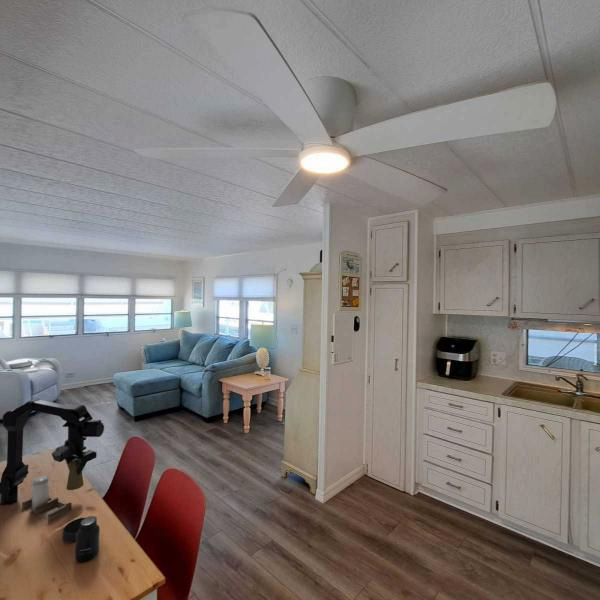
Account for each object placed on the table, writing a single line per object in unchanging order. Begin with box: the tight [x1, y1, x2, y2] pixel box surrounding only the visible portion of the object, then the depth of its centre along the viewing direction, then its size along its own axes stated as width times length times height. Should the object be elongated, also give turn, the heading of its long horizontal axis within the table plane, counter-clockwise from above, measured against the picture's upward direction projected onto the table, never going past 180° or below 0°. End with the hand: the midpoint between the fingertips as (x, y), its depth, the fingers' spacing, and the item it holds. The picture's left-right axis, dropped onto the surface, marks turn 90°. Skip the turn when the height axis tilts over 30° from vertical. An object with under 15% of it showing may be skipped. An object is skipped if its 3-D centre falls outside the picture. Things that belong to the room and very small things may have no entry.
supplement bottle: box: [74, 515, 101, 564], centre depth 111 cm, size 7×7×12 cm
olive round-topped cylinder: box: [65, 459, 84, 491], centre depth 140 cm, size 6×6×11 cm
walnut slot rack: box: [21, 495, 72, 522], centre depth 134 cm, size 19×8×3 cm, turn 66°
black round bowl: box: [62, 517, 85, 543], centre depth 121 cm, size 9×9×4 cm
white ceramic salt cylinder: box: [31, 475, 50, 510], centre depth 136 cm, size 6×6×11 cm
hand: (75, 473), depth 140 cm, fingers closed on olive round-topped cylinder, 5 cm apart
